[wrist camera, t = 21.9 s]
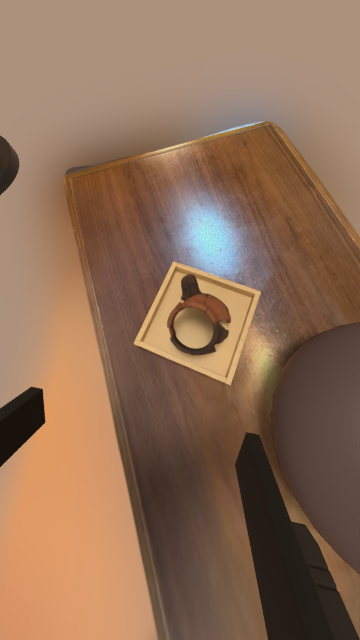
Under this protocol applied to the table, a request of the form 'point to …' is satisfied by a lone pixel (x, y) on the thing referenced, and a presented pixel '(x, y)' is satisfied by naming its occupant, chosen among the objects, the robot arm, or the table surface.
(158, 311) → the wooden tray
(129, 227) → the table surface
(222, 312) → the pottery mug
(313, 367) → the smooth stone
